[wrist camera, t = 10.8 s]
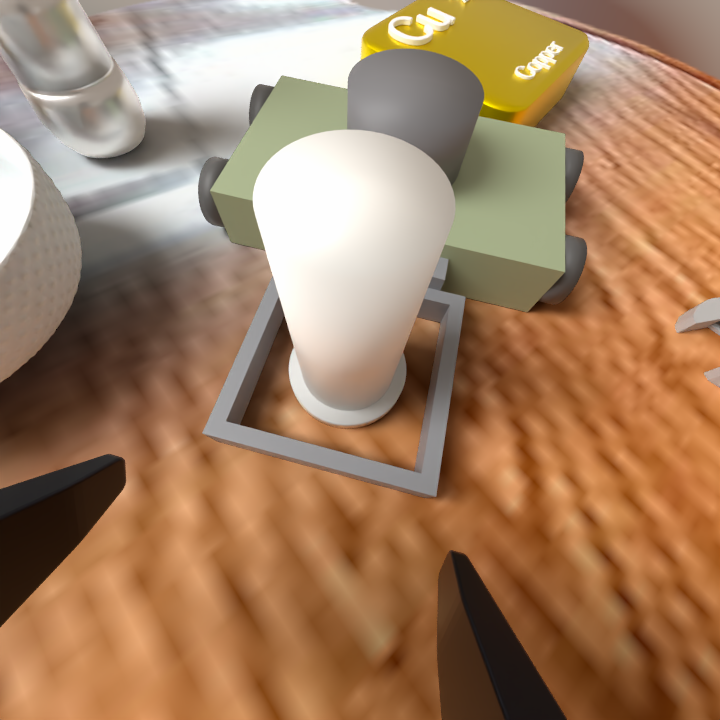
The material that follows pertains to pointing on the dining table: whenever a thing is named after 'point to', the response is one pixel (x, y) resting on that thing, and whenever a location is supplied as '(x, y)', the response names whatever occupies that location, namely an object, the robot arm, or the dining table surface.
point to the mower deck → (461, 250)
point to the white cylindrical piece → (351, 263)
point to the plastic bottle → (70, 77)
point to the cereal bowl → (32, 256)
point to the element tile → (491, 50)
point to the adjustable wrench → (703, 326)
